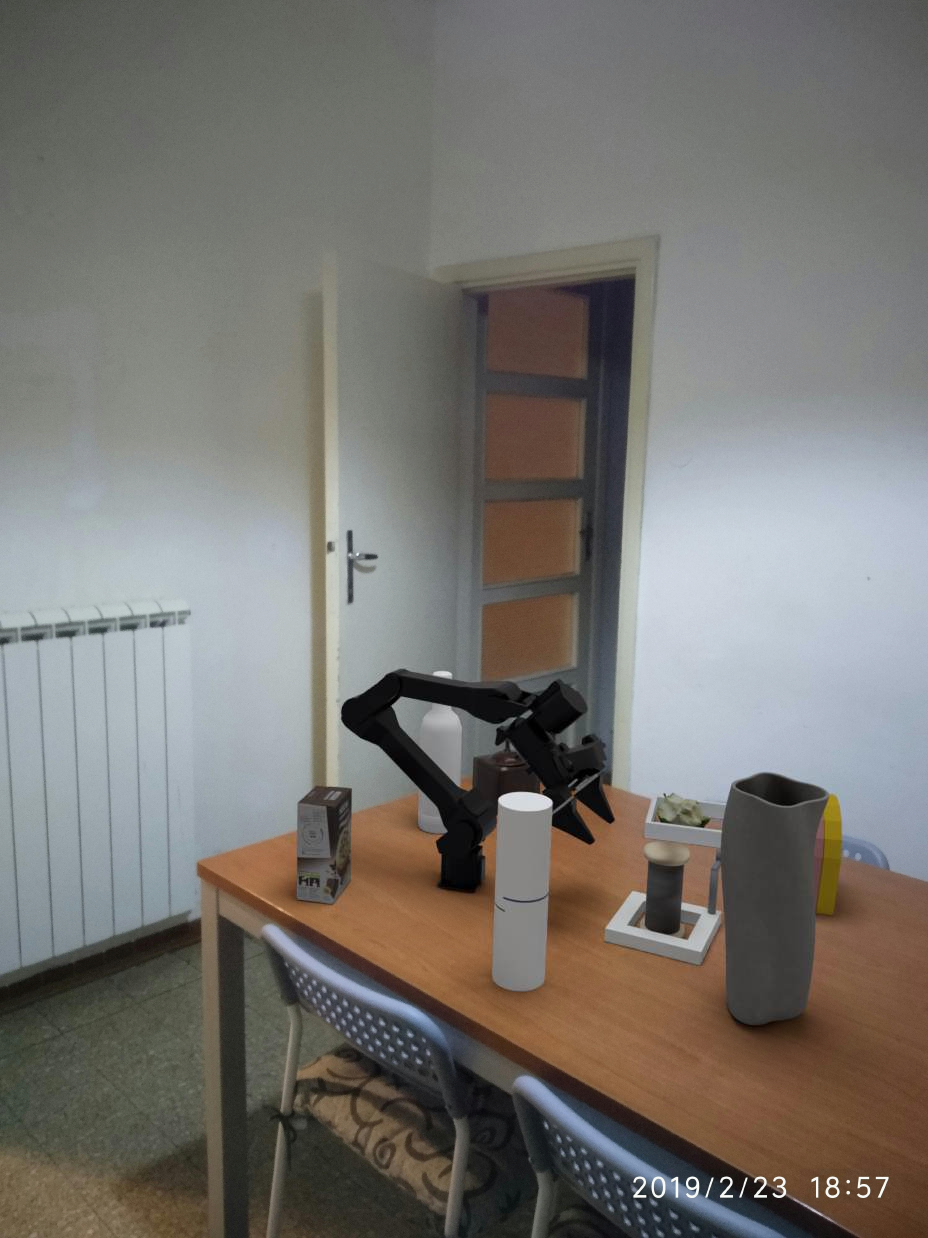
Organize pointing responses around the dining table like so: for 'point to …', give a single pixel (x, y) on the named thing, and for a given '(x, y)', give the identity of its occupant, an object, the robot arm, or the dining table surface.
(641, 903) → the rectangular frame
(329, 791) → the coffee box
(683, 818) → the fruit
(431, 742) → the bottle
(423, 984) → the dining table surface
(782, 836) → the vase
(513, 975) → the cylindrical container
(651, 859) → the disc
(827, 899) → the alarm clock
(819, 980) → the dining table surface
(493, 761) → the coffee grinder
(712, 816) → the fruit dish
